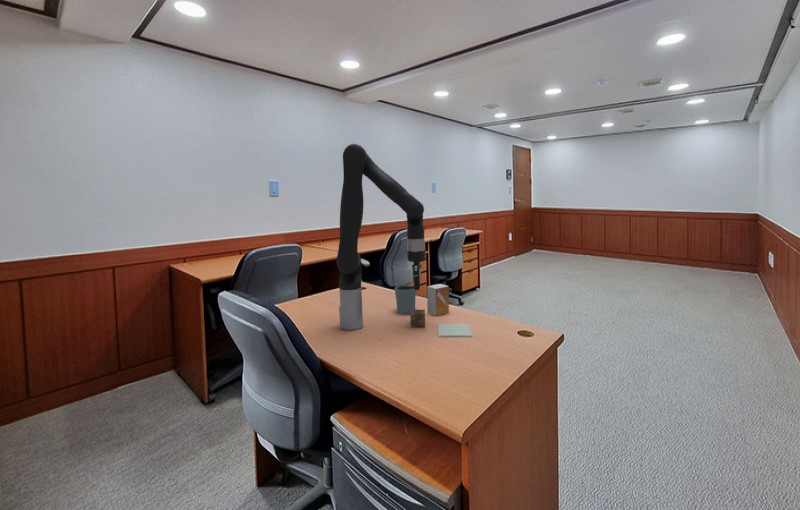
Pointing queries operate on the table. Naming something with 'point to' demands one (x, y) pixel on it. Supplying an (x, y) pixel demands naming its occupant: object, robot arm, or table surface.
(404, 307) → the grey cup
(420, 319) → the cube
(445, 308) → the small box
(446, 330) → the pad
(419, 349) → the table surface
